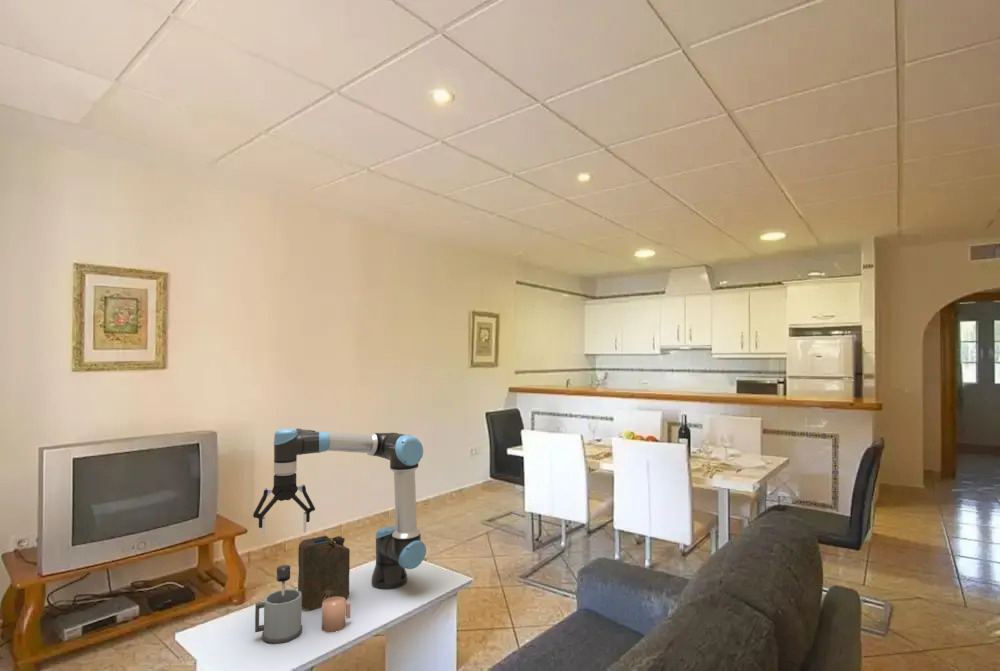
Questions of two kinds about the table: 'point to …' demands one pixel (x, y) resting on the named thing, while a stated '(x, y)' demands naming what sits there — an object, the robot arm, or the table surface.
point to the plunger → (283, 578)
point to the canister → (323, 570)
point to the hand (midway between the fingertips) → (284, 534)
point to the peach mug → (334, 613)
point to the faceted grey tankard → (280, 617)
